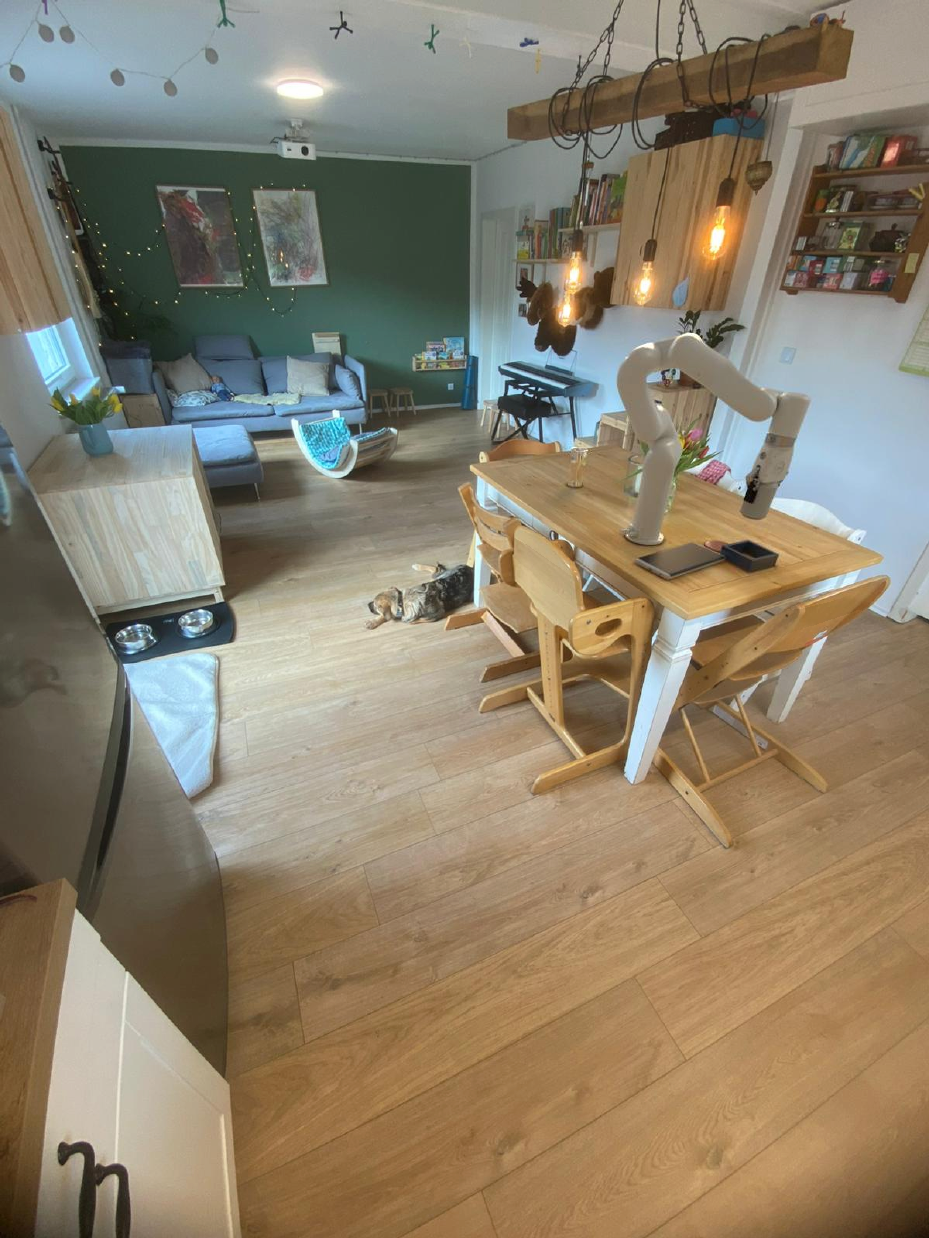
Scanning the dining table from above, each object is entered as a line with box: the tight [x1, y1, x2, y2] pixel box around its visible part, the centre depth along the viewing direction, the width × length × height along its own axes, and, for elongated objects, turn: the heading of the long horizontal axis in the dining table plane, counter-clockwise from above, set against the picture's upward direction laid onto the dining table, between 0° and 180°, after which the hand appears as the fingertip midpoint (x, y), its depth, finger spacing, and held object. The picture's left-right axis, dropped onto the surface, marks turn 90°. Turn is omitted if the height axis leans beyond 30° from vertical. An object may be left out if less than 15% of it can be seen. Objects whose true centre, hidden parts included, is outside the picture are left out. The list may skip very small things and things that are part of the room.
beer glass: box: [567, 446, 589, 488], centre depth 220 cm, size 7×7×15 cm
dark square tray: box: [719, 539, 780, 573], centre depth 166 cm, size 12×12×4 cm
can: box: [739, 478, 779, 521], centre depth 158 cm, size 8×8×12 cm
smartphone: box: [634, 541, 726, 580], centre depth 165 cm, size 13×27×2 cm, turn 121°
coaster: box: [704, 540, 729, 553], centre depth 175 cm, size 9×9×1 cm
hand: (758, 500), depth 159 cm, fingers closed on can, 7 cm apart
